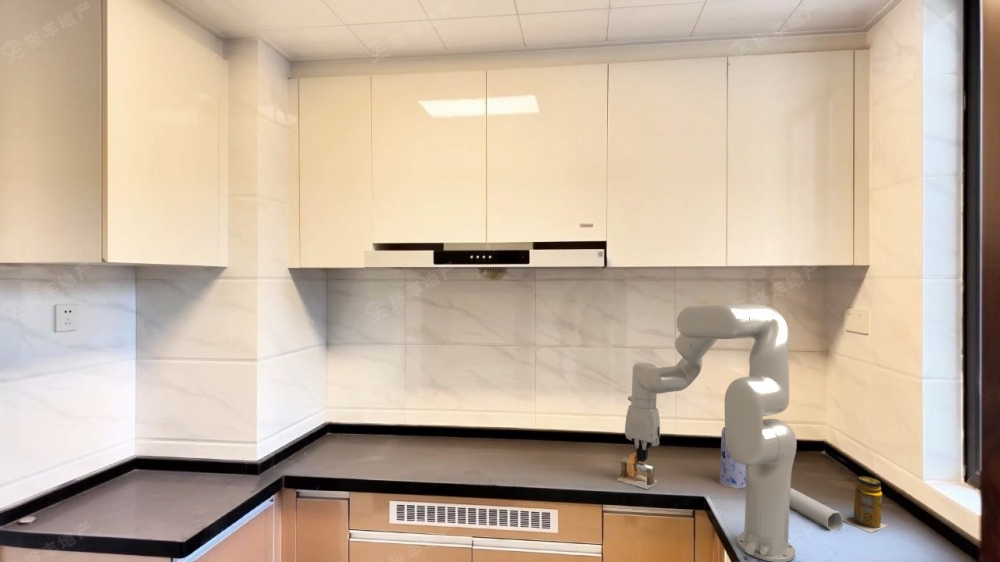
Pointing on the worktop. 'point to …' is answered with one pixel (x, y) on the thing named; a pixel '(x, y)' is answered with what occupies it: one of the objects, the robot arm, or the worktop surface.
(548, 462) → the worktop surface
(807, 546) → the worktop surface
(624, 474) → the base board
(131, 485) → the worktop surface
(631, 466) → the o ring
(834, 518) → the tube
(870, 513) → the condiment
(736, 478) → the aerosol can
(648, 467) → the pipe
